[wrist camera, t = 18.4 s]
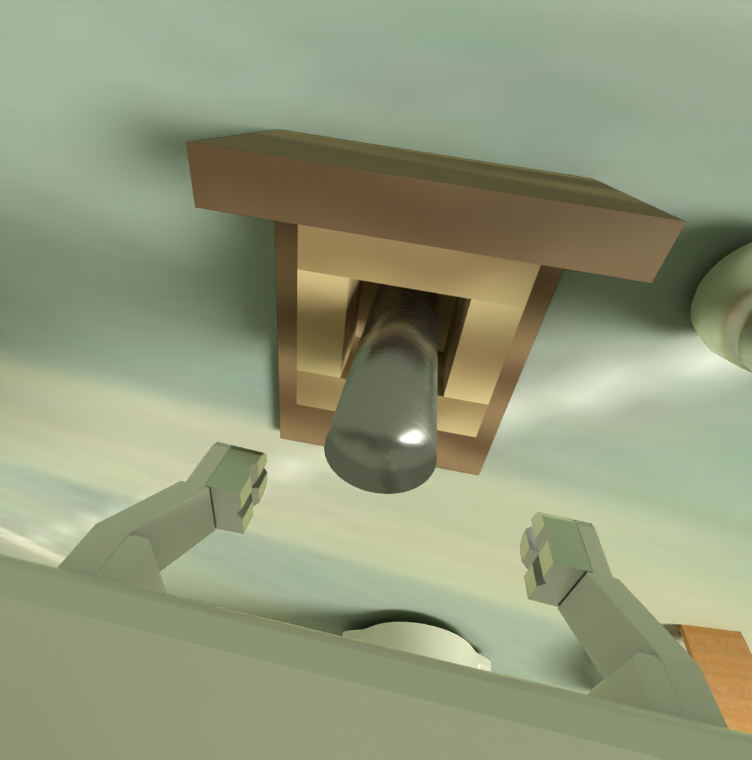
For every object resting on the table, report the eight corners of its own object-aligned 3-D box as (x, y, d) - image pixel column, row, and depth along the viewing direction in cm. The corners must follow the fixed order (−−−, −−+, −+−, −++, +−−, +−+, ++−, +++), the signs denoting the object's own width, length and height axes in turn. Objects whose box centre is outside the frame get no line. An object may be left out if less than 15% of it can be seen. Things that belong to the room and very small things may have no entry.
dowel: (431, 336, 23) (424, 501, 13) (371, 325, 23) (322, 482, 14) (444, 278, 21) (448, 424, 11) (378, 267, 21) (327, 402, 12)
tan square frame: (469, 380, 26) (476, 437, 21) (321, 353, 26) (296, 404, 22) (521, 222, 20) (544, 255, 15) (329, 190, 20) (298, 214, 16)
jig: (477, 465, 32) (488, 574, 24) (284, 429, 32) (238, 524, 25) (593, 178, 19) (685, 221, 12) (279, 129, 20) (186, 141, 13)
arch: (741, 630, 40) (818, 764, 32) (660, 700, 51) (701, 811, 43) (680, 622, 41) (740, 751, 33) (613, 692, 52) (645, 801, 44)
